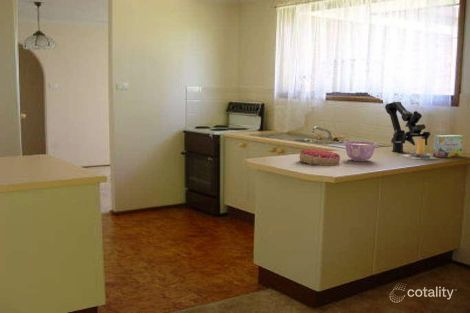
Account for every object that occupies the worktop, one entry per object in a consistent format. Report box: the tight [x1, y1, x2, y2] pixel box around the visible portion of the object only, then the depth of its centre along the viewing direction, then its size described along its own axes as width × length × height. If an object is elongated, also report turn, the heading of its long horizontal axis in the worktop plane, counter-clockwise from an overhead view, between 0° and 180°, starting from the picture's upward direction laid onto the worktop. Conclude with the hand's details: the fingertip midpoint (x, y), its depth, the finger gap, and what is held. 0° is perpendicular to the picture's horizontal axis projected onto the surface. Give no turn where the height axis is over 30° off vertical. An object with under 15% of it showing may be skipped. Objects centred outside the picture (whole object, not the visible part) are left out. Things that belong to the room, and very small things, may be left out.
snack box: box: [432, 134, 464, 158], centre depth 364 cm, size 21×6×15 cm, turn 112°
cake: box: [299, 148, 341, 166], centre depth 327 cm, size 25×25×8 cm
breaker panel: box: [400, 150, 439, 161], centre depth 357 cm, size 18×17×4 cm
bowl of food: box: [344, 140, 377, 162], centre depth 338 cm, size 20×20×12 cm
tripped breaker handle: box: [415, 138, 426, 154], centre depth 355 cm, size 3×4×10 cm
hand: (420, 145), depth 355 cm, fingers open, 9 cm apart
